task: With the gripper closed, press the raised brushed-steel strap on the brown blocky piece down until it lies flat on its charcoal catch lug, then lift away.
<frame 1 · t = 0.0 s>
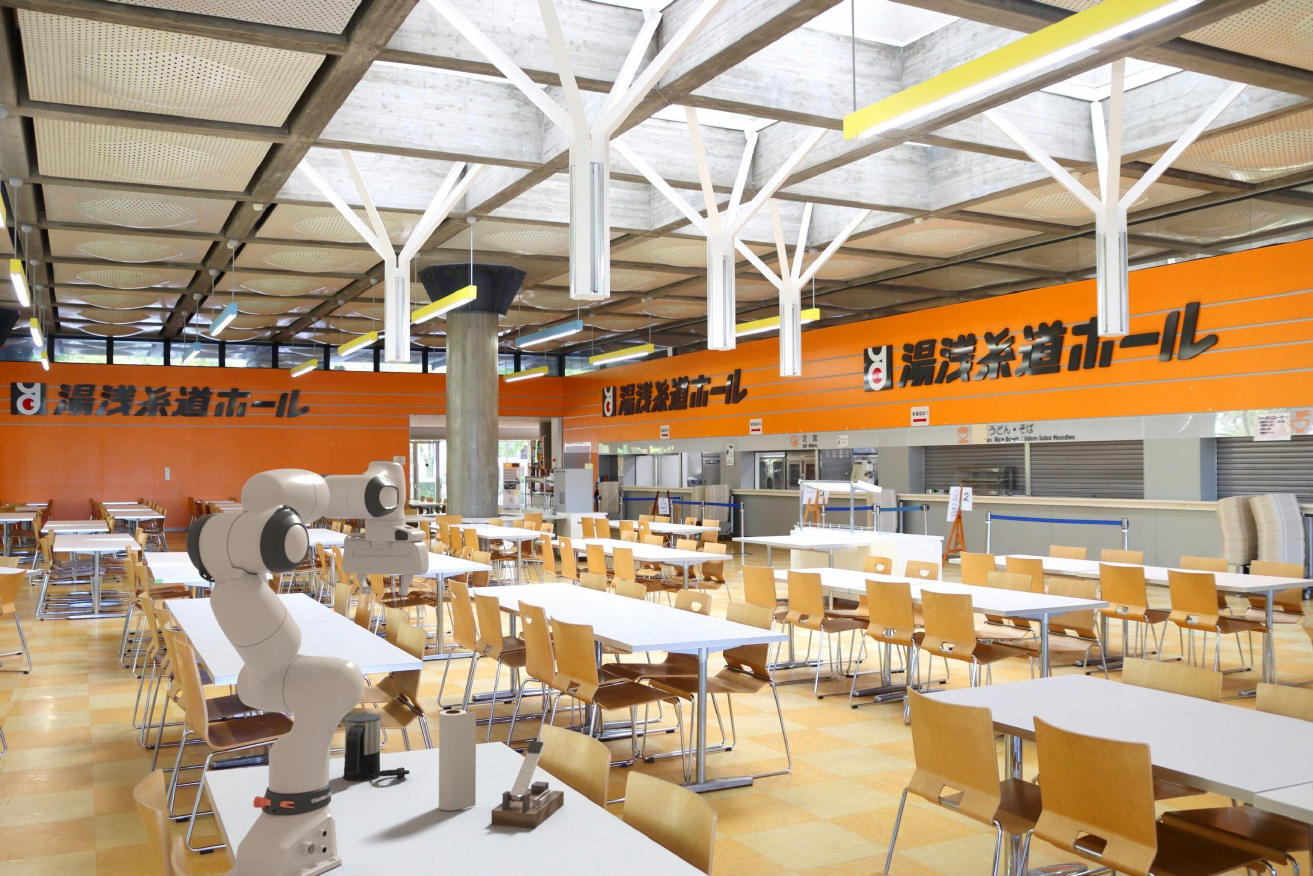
hand: (384, 594, 228), 48 cm above the table, fingers open, 8 cm apart
steel strap: (526, 770, 223), point 10 cm above the table, hinge at 35.0°
brown blocky piece: (528, 814, 224), on the table
paper towel roll: (454, 808, 229), on the table
milk frother: (376, 779, 253), on the table
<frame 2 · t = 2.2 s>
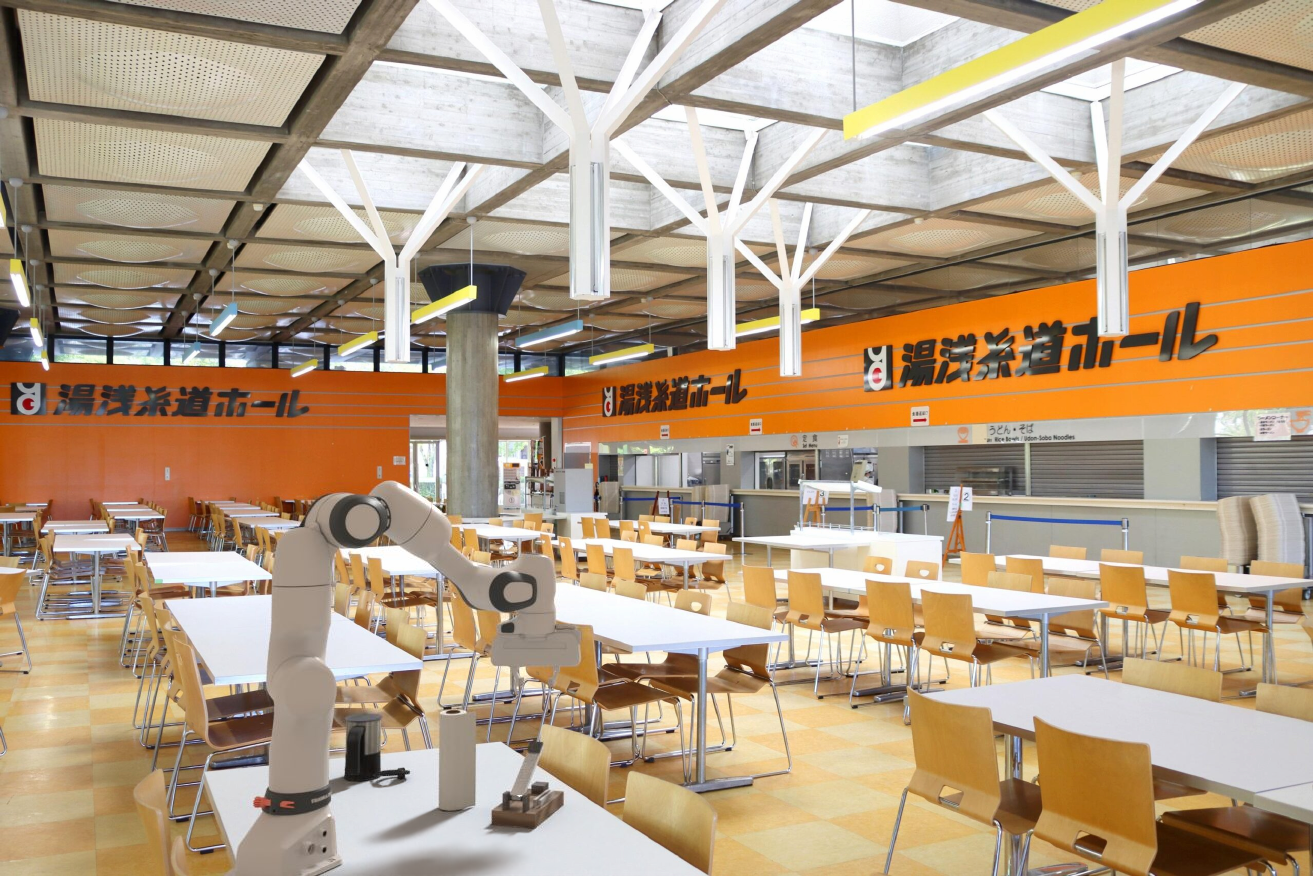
hand: (535, 686, 229), 27 cm above the table, fingers open, 6 cm apart
nothing on the table moved.
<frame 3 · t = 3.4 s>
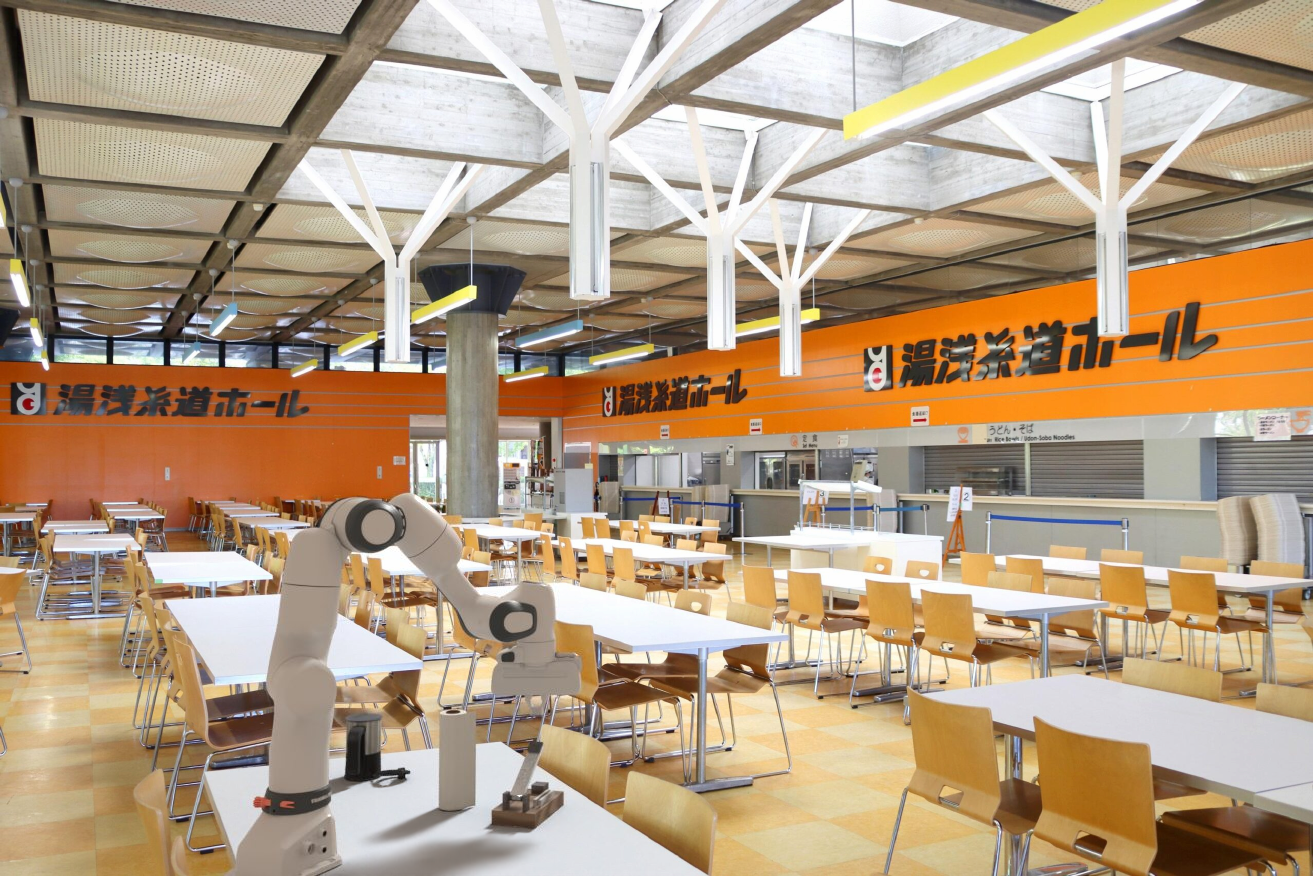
hand: (536, 714, 229), 21 cm above the table, fingers closed
nothing on the table moved.
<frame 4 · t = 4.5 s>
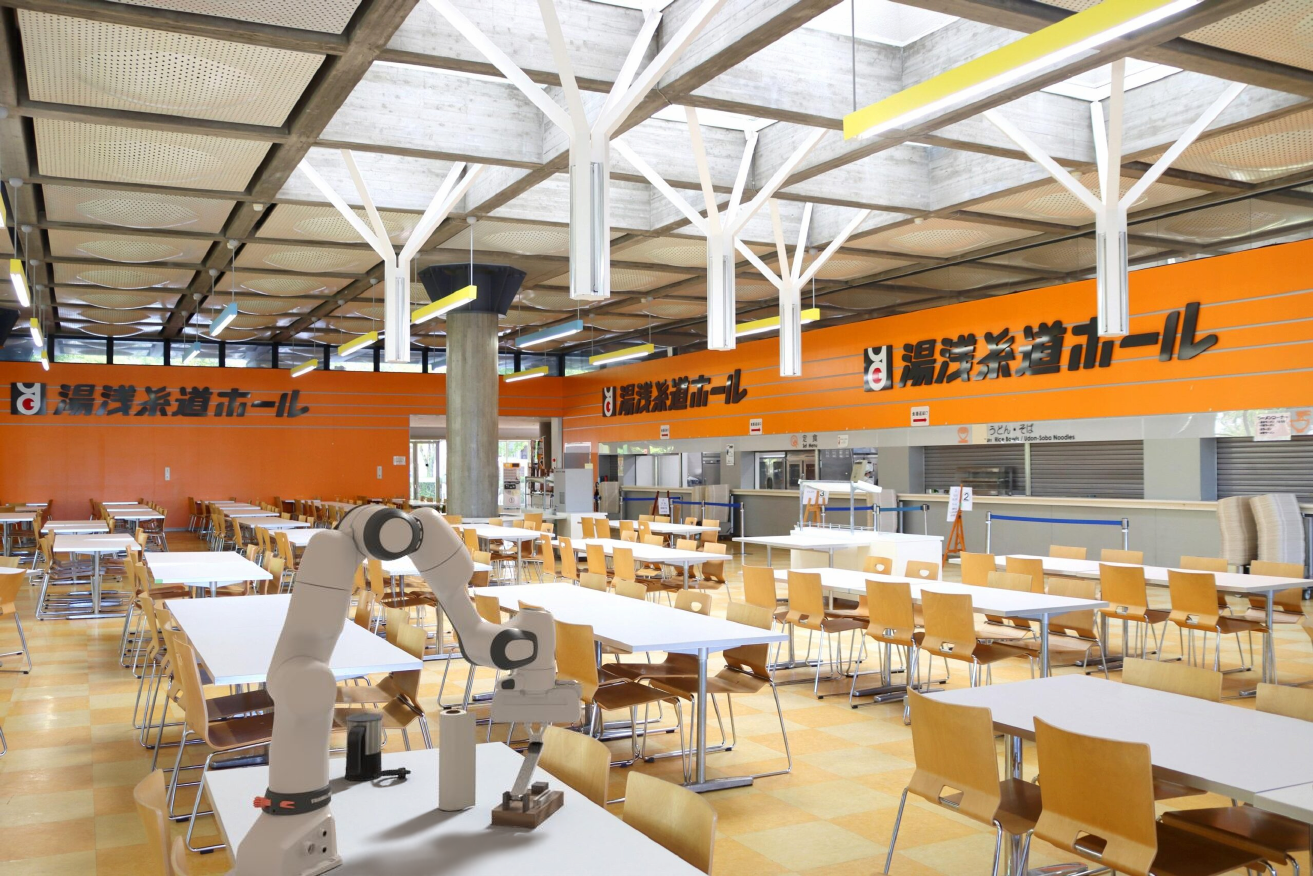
hand: (536, 742, 229), 15 cm above the table, fingers closed, pressing on steel strap
steel strap: (526, 770, 223), point 10 cm above the table, hinge at 35.0°, touching gripper
everything else where it was.
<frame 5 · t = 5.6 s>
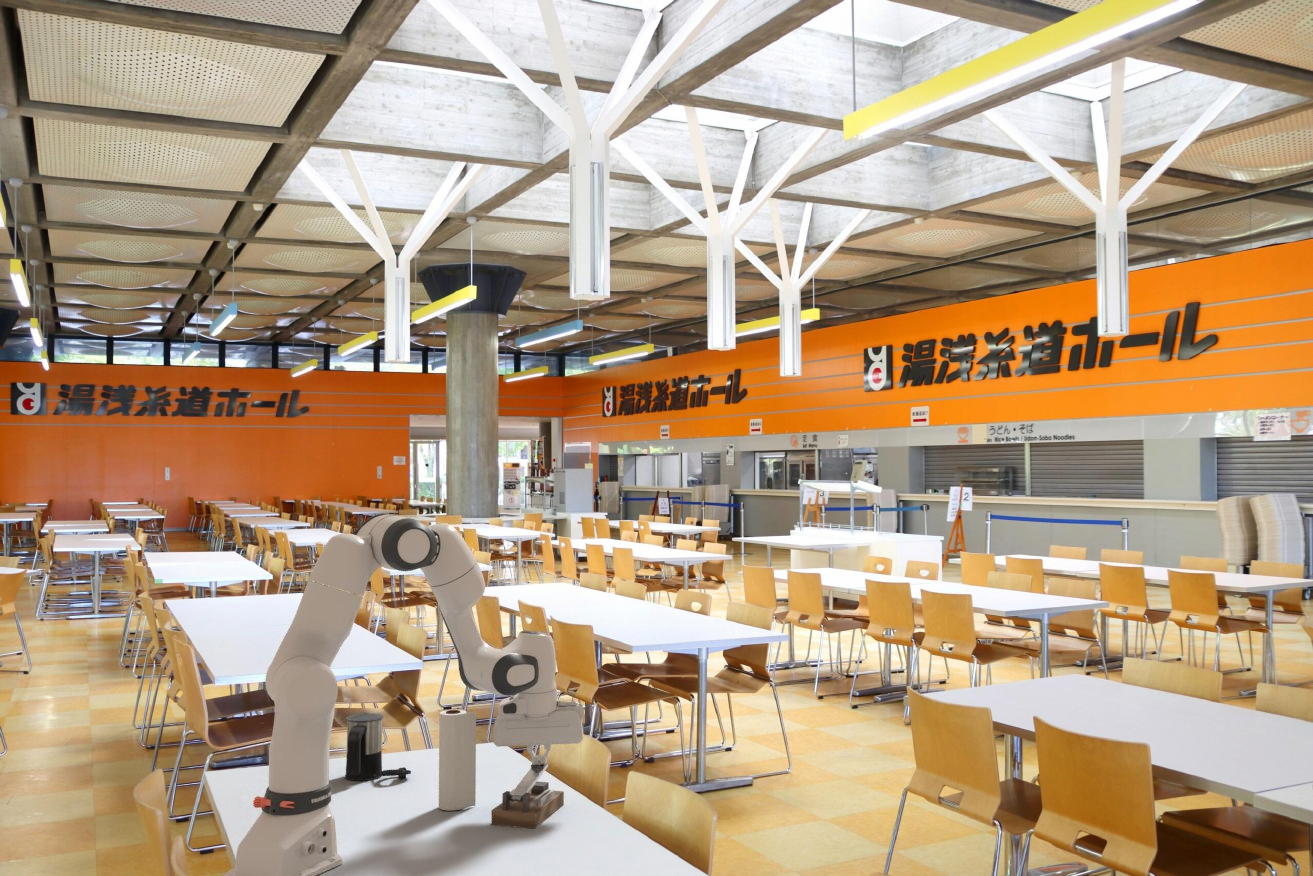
hand: (539, 764, 229), 10 cm above the table, fingers closed, pressing on steel strap
steel strap: (528, 780, 224), point 7 cm above the table, hinge at 13.4°, touching gripper
everything else where it was.
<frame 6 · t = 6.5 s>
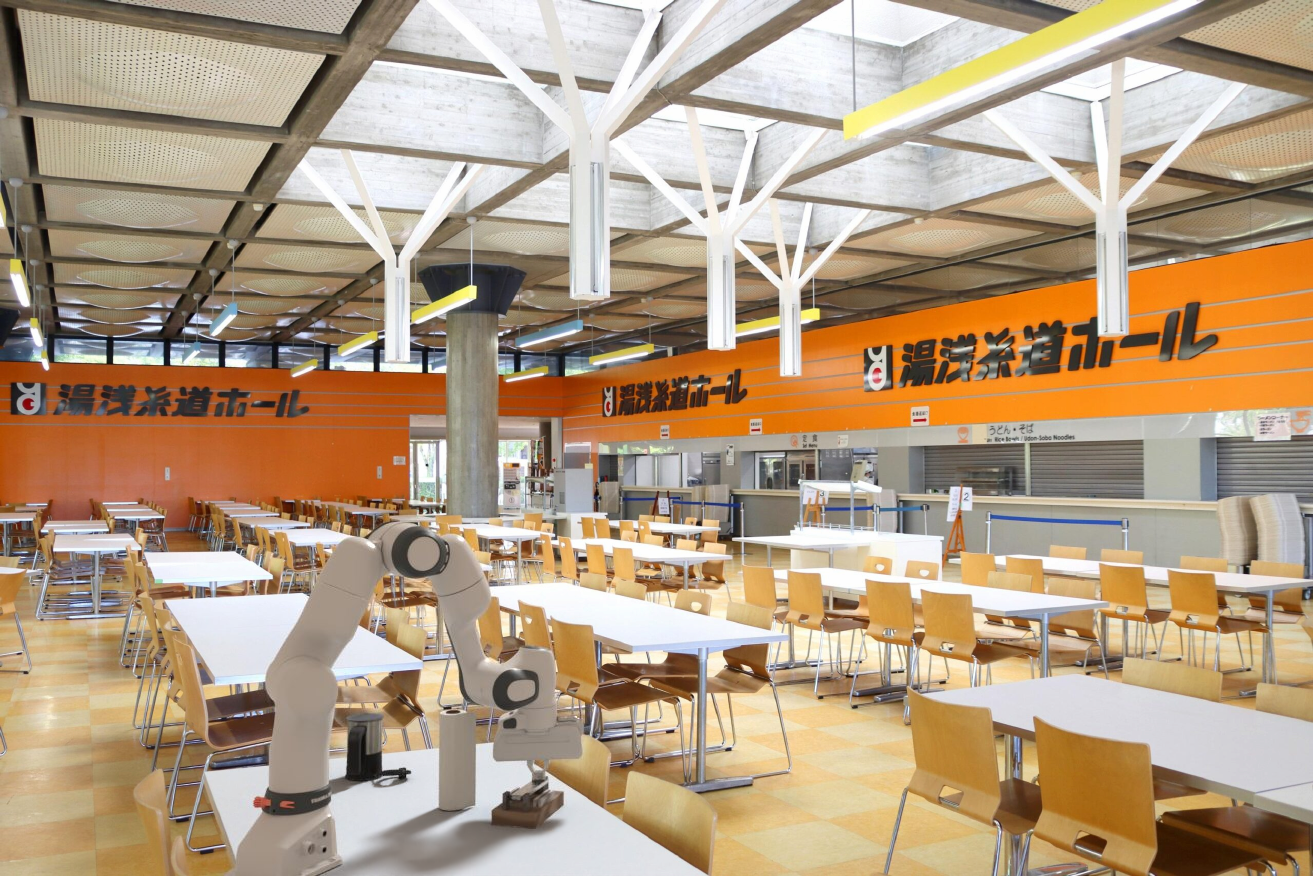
hand: (538, 779, 229), 6 cm above the table, fingers closed, pressing on steel strap
steel strap: (529, 788, 224), point 6 cm above the table, hinge at -0.7°, touching gripper
everything else where it was.
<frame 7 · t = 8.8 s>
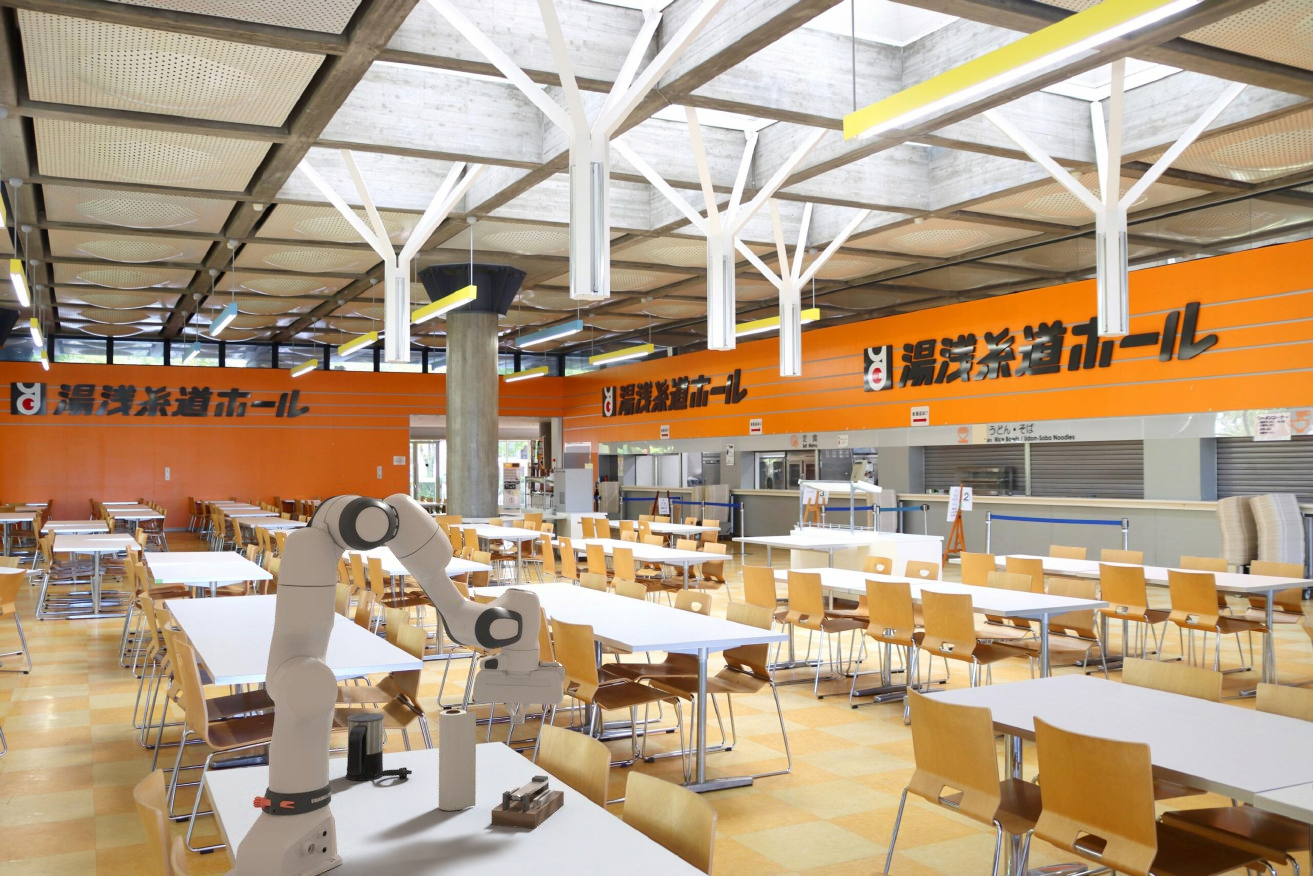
hand: (517, 723, 228), 19 cm above the table, fingers closed
steel strap: (529, 788, 224), point 6 cm above the table, hinge at -0.8°
everything else where it was.
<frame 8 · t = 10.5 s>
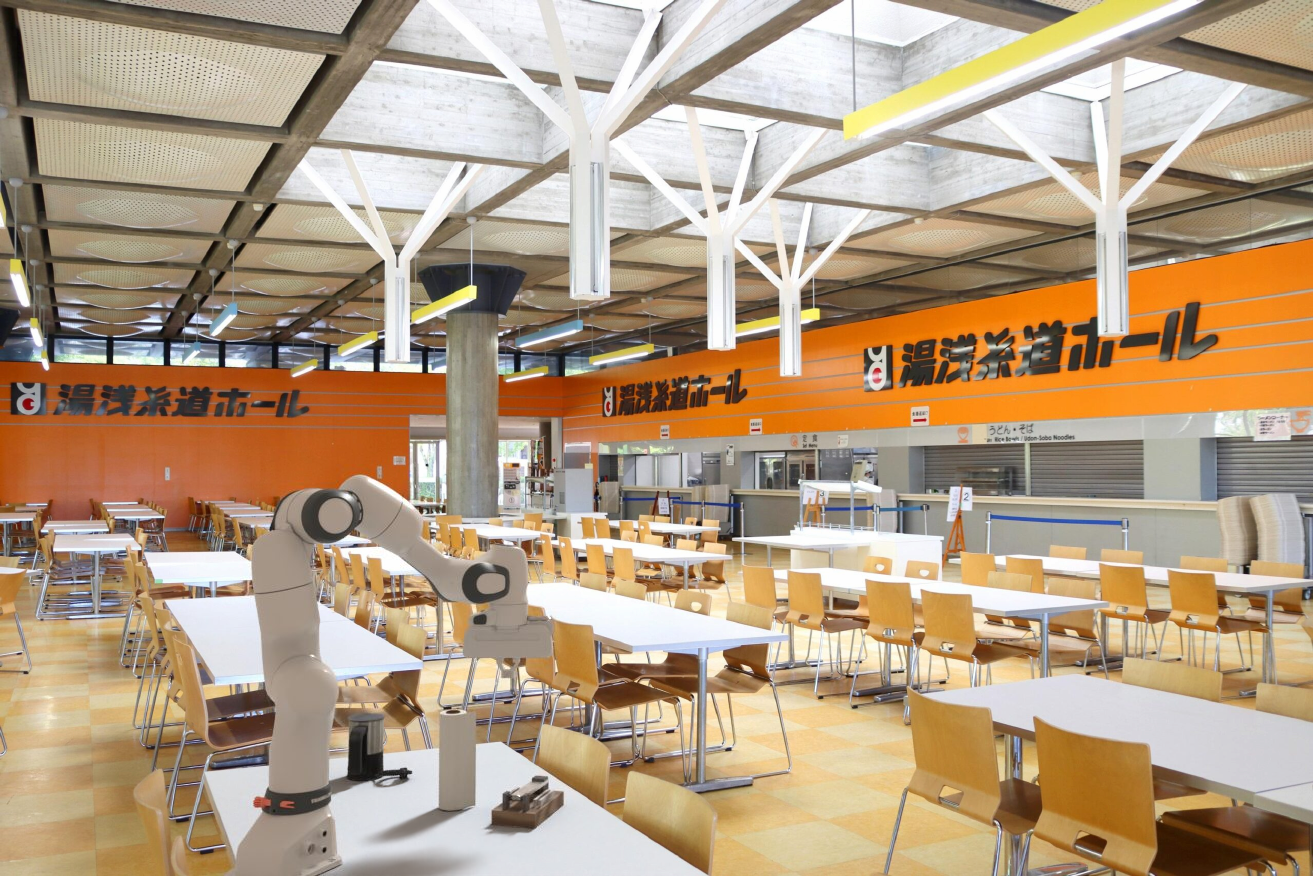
hand: (508, 677, 229), 29 cm above the table, fingers closed
nothing on the table moved.
at the end: steel strap at -1° (first picture: +35°); paper towel roll moved 0.2 cm from its start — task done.
